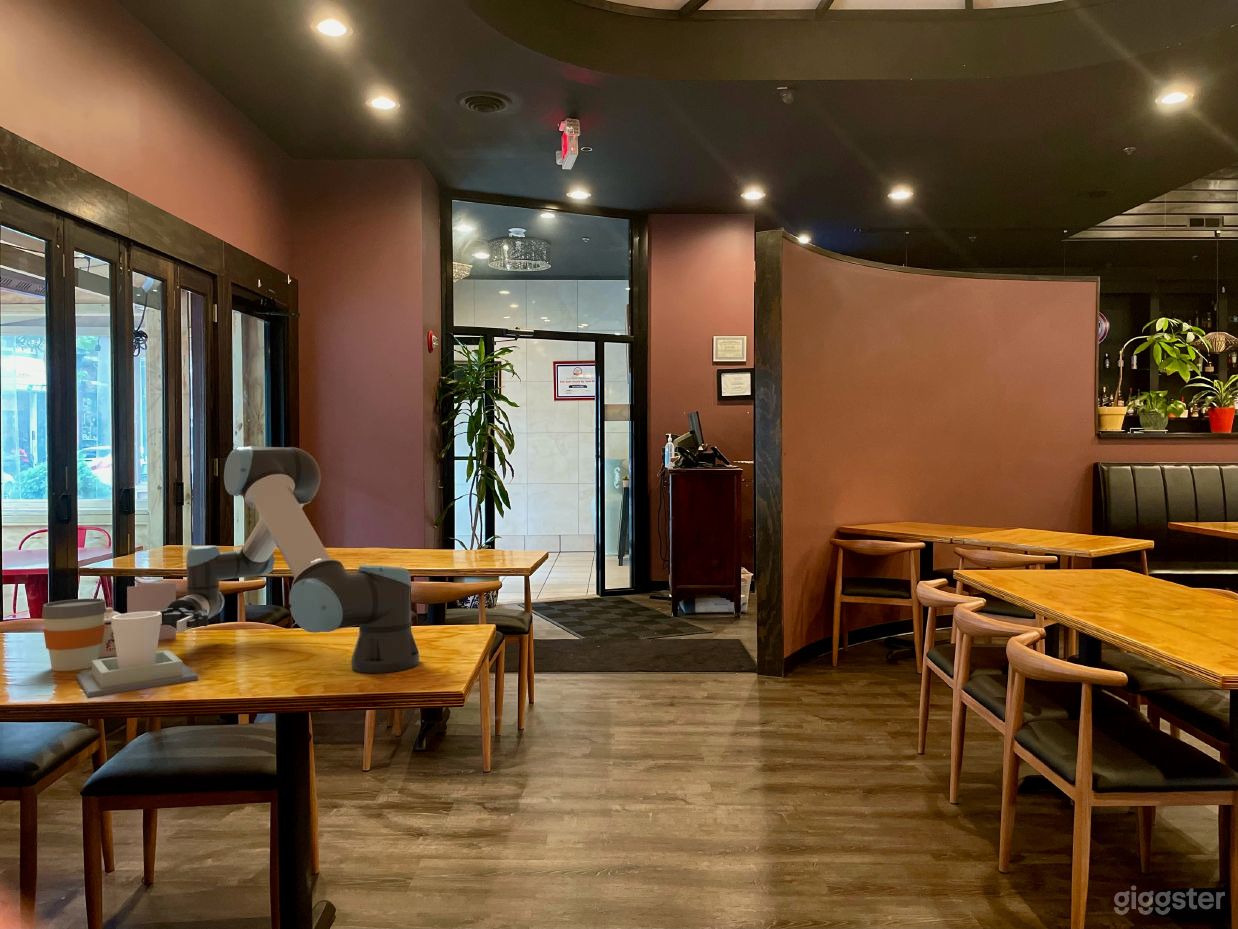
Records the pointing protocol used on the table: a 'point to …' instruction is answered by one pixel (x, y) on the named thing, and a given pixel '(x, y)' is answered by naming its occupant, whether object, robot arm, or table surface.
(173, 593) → the greeting card
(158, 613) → the foam cup
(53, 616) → the reusable coffee cup
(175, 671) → the tray
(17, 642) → the table surface
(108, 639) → the teacup with lid
